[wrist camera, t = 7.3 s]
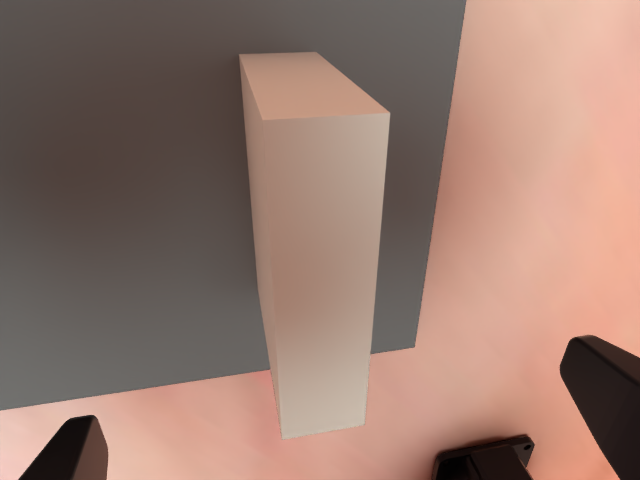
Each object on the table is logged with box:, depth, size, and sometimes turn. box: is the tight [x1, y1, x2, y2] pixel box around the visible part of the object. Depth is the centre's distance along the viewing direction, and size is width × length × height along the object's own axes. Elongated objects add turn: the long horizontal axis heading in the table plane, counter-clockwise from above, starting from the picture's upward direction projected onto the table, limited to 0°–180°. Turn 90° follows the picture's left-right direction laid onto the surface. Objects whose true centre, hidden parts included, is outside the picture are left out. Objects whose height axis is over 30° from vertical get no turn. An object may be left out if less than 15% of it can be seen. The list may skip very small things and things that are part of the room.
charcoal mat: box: [0, 0, 466, 410], centre depth 17 cm, size 17×20×1 cm
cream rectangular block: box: [239, 52, 390, 440], centre depth 14 cm, size 9×2×7 cm, turn 179°
